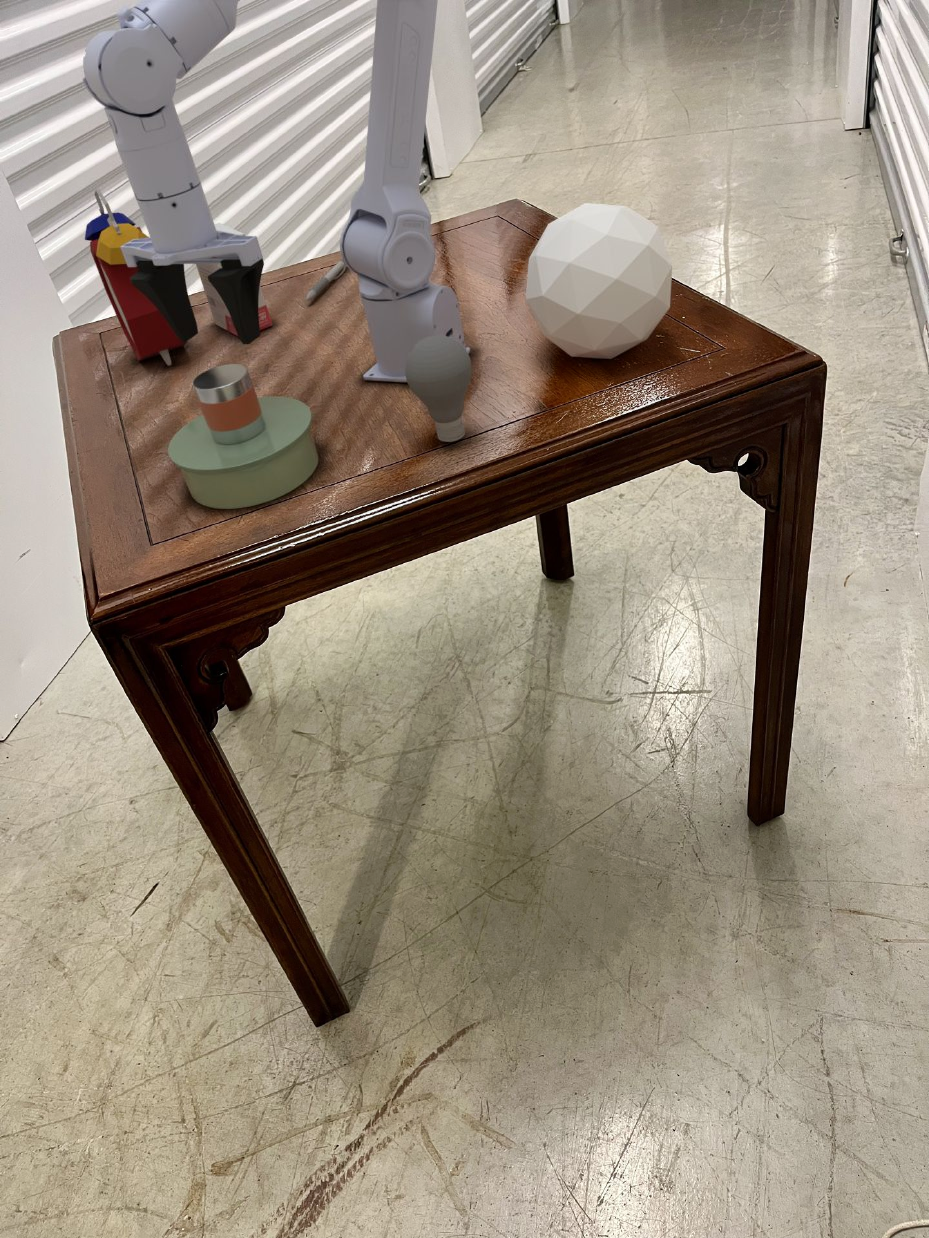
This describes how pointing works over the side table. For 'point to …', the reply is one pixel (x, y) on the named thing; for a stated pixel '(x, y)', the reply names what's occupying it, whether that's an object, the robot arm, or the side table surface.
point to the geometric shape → (599, 280)
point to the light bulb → (441, 382)
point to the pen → (327, 279)
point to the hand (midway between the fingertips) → (220, 338)
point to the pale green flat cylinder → (248, 457)
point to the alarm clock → (127, 285)
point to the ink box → (216, 302)
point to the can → (229, 404)
